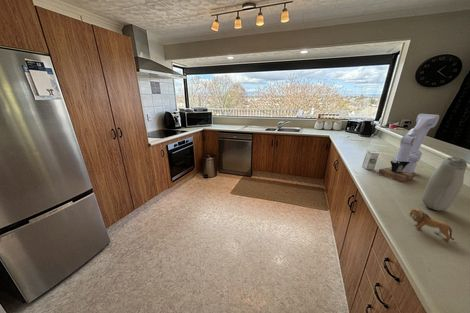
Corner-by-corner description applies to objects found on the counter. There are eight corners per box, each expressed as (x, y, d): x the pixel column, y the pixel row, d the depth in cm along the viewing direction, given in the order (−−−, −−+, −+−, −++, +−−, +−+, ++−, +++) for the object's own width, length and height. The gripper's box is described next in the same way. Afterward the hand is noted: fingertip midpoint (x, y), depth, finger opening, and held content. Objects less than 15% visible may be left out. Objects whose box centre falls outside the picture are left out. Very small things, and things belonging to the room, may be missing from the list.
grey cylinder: (393, 174, 127) (398, 163, 124) (400, 177, 123) (404, 165, 120) (390, 175, 126) (394, 164, 123) (396, 177, 122) (400, 166, 119)
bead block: (390, 171, 133) (391, 167, 132) (412, 179, 121) (414, 174, 119) (378, 173, 129) (379, 169, 127) (400, 181, 116) (401, 177, 115)
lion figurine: (405, 227, 75) (412, 210, 72) (403, 221, 79) (410, 204, 76) (455, 244, 67) (466, 226, 64) (451, 236, 71) (461, 219, 68)
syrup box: (369, 167, 140) (374, 150, 135) (373, 170, 134) (379, 152, 129) (361, 166, 140) (366, 150, 135) (366, 169, 135) (371, 152, 130)
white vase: (451, 216, 83) (480, 163, 73) (422, 209, 88) (446, 158, 78) (442, 206, 91) (467, 157, 81) (415, 200, 96) (437, 153, 86)
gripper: (404, 155, 113) (396, 174, 117) (417, 153, 117) (409, 171, 122) (391, 152, 119) (385, 170, 123) (404, 150, 123) (398, 167, 128)
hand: (396, 170), depth 123 cm, fingers open, 7 cm apart
